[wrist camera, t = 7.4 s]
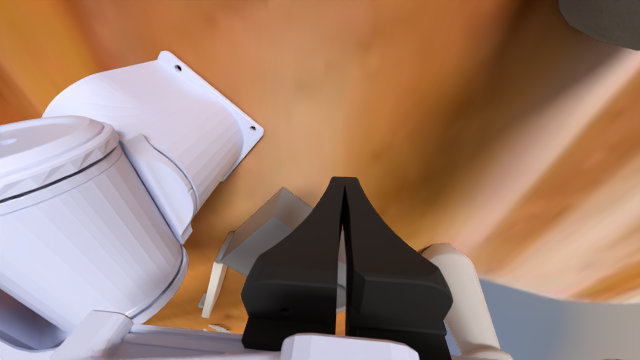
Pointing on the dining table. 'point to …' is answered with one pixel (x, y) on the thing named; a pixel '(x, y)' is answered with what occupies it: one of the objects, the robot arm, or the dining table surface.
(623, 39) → the bottle
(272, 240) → the camera housing
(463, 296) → the salt shaker
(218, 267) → the door
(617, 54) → the dining table surface
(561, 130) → the dining table surface
